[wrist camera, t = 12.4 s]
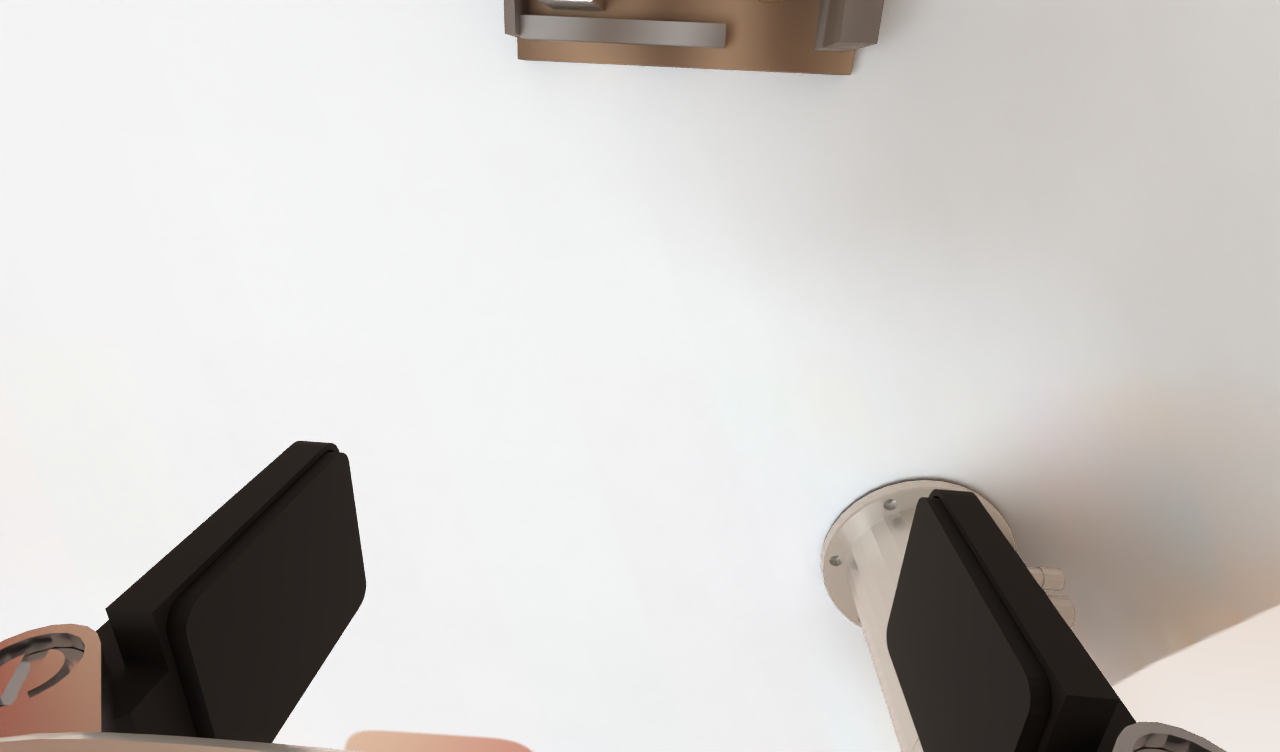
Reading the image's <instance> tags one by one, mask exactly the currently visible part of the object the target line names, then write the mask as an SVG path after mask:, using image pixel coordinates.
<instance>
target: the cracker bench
mask: <svg viewBox="0 0 1280 752" xmlns="http://www.w3.org/2000/svg"><path fill="white" fill-rule="evenodd" d="M883 3H884V0H784V1H781V2H776V3H763V2H759V1H756V0H603V12H602V11H578V10H555V9H552V8H550V7H548V6H547V5H545V4H543V3H541V2H540V1H538V0H504V21H505V34H508V35H512V36H515V37H517V42H518V59H521V60H532V61H554V62H575V63H596V64H618V65H639V66H660V67H682V68H703V69H724V70H746V71H767V72H788V73H810V74H831V75H851V71H852V65H853V58H854V52H855V49H858V48H862V47H866V46H869V45H873V44H877V40H878V34H879V28H880V22H881V16H882V10H883Z"/></svg>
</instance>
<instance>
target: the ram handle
mask: <svg viewBox="0 0 1280 752" xmlns="http://www.w3.org/2000/svg"><path fill="white" fill-rule="evenodd" d="M538 1H540V2H541V3H543V4H545V5H547V6H548V7H550V8H552V9H555V10H578V11H602V12H603V0H538Z"/></svg>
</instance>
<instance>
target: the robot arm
mask: <svg viewBox="0 0 1280 752" xmlns="http://www.w3.org/2000/svg"><path fill="white" fill-rule="evenodd" d="M821 571H822V575H823V579H824V584H825V587H826V589H827V592H828V595H829V597H830V599H831V600H832V602H833V603H834V605H835V606H836V608H837V609H838V610H839V611H840V612H841V613H842V614H843V615H844V616H845V617H846V618H847V619H849V620H850V621H852V622H853V623H855V624H856V625H858V626H860V627H862V629H863V632H864V635H865V638H866V641H867V644H868V648H869V651H870V654H871V657H872V660H873V663H874V667H875V670H876V673H877V676H878V679H879V682H880V686H881V689H882V692H883V695H884V698H885V701H886V705H887V708H888V711H889V714H890V717H891V720H892V723H893V727H894V730H895V733H896V736H897V739H898V742H899V746H900V749H901V752H1226V751H1224V750H1223V749H1221V748H1219V747H1218V746H1216V745H1215V744H1213V743H1211V742H1210V741H1208V740H1206V739H1205V738H1202V737H1200V736H1198V735H1195V734H1193V733H1191V732H1188V731H1186V730H1184V729H1181V728H1178V727H1174V726H1170V725H1166V724H1162V723H1158V722H1138V723H1136V721H1135V720H1134V718H1133V717H1132V716H1131V714H1130V713H1129V711H1128V710H1127V708H1126V707H1125V706H1124V704H1123V703H1122V701H1121V700H1120V698H1119V697H1118V696H1117V694H1116V693H1115V691H1114V690H1113V688H1112V687H1111V686H1110V684H1109V683H1108V681H1107V680H1106V678H1105V677H1104V676H1103V674H1102V673H1101V671H1100V670H1099V669H1098V667H1097V666H1096V664H1095V663H1094V661H1093V660H1092V659H1091V657H1090V656H1089V654H1088V653H1087V651H1086V650H1085V649H1084V647H1083V646H1082V644H1081V643H1080V642H1079V640H1078V639H1077V637H1076V636H1075V634H1074V633H1073V632H1072V630H1071V629H1070V626H1072V625H1073V623H1074V621H1075V610H1074V606H1073V604H1072V602H1071V600H1070V599H1069V598H1068V597H1064V596H1051V595H1046V593H1045V592H1044V590H1043V589H1047V590H1062V589H1063V587H1064V584H1065V579H1064V574H1063V572H1062V571H1061V570H1060V569H1059V568H1047V567H1036V568H1034V567H1026V565H1025V564H1024V563H1023V561H1022V560H1021V558H1020V557H1019V556H1018V554H1017V553H1016V548H1015V541H1014V538H1013V536H1012V533H1011V530H1010V528H1009V526H1008V525H1007V523H1006V522H1005V520H1004V519H1003V517H1002V516H1001V514H1000V513H999V512H998V511H997V510H996V509H995V507H994V506H993V505H992V504H991V503H990V502H989V501H987V500H986V499H985V498H983V497H982V496H980V495H979V494H978V493H976V492H974V491H971V490H969V489H967V488H965V487H963V486H960V485H956V484H952V483H948V482H944V481H932V480H918V481H906V482H902V483H898V484H894V485H889V486H886V487H884V488H881V489H879V490H876V491H874V492H872V493H869V494H868V495H866V496H865V497H863V498H861V499H860V500H858V501H857V502H855V503H854V504H853V505H851V506H850V507H849V508H848V509H847V510H846V511H845V512H844V513H842V514H841V516H840V517H839V518H838V519H837V521H836V522H835V523H834V525H833V526H832V527H831V529H830V531H829V533H828V535H827V537H826V539H825V542H824V546H823V550H822V554H821ZM365 591H366V578H365V571H364V564H363V557H362V550H361V543H360V536H359V529H358V522H357V515H356V508H355V501H354V494H353V487H352V480H351V473H350V466H349V460H348V457H347V455H346V454H345V453H340V452H339V450H338V448H337V446H336V445H334V444H333V443H322V442H309V441H297V442H295V443H293V444H292V445H291V446H290V447H289V448H287V449H286V450H285V451H284V452H283V453H282V454H281V455H280V456H278V457H277V458H276V459H275V460H274V461H273V462H272V463H270V464H269V465H268V466H267V467H266V468H265V469H264V470H263V471H261V472H260V473H259V474H258V475H257V476H256V477H255V478H253V479H252V480H251V481H250V482H249V483H248V484H247V485H246V486H244V487H243V488H242V489H241V490H240V491H239V492H238V493H236V494H235V495H234V496H233V497H232V498H231V499H230V500H228V501H227V502H226V503H225V504H224V505H223V506H222V507H221V508H219V509H218V510H217V511H216V512H215V513H214V514H213V515H211V516H210V517H209V518H208V519H207V520H206V521H205V522H204V523H202V524H201V525H200V526H199V527H198V528H197V529H196V530H194V531H193V532H192V533H191V534H190V535H189V536H188V537H186V538H185V539H184V540H183V541H182V542H181V543H180V544H179V545H177V546H176V547H175V548H174V549H173V550H172V551H171V552H169V553H168V554H167V555H166V556H165V557H164V558H163V559H162V560H160V561H159V562H158V563H157V564H156V565H155V566H154V567H152V568H151V569H150V570H149V571H148V572H147V573H146V574H145V575H143V576H142V577H141V578H140V579H139V580H138V581H137V582H135V583H134V584H133V585H132V586H131V587H130V588H129V589H127V590H126V591H125V592H124V593H123V594H122V595H121V596H120V597H118V598H117V599H116V600H115V601H114V602H113V603H112V604H110V605H109V606H108V607H107V608H106V612H107V615H108V618H109V620H108V621H107V622H106V623H105V624H104V625H102V626H101V627H100V628H99V629H98V630H97V631H96V632H95V631H94V630H92V629H90V628H89V627H87V626H82V625H76V624H62V625H51V626H46V627H42V628H38V629H34V630H30V631H27V632H24V633H22V634H19V635H16V636H14V637H11V638H8V639H6V640H4V641H2V642H0V752H360V751H349V750H339V749H328V748H317V747H306V746H295V745H284V744H274V743H272V742H273V740H274V739H275V737H276V736H277V734H278V732H279V731H280V729H281V728H282V726H283V725H284V723H285V722H286V720H287V718H288V717H289V715H290V714H291V712H292V711H293V709H294V708H295V706H296V705H297V703H298V701H299V700H300V698H301V697H302V695H303V694H304V692H305V691H306V689H307V688H308V686H309V684H310V683H311V681H312V680H313V678H314V677H315V675H316V674H317V672H318V671H319V669H320V667H321V666H322V664H323V663H324V661H325V660H326V658H327V657H328V655H329V653H330V652H331V650H332V649H333V647H334V646H335V644H336V643H337V641H338V640H339V638H340V636H341V635H342V633H343V632H344V630H345V629H346V627H347V626H348V624H349V623H350V621H351V619H352V618H353V616H354V615H355V613H356V612H357V610H358V609H359V607H360V605H361V603H362V601H363V599H364V595H365Z"/></svg>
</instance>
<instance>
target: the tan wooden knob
mask: <svg viewBox="0 0 1280 752" xmlns="http://www.w3.org/2000/svg"><path fill="white" fill-rule="evenodd" d="M756 1H759V2H763V3H776V2H781V1H784V0H756Z"/></svg>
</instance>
